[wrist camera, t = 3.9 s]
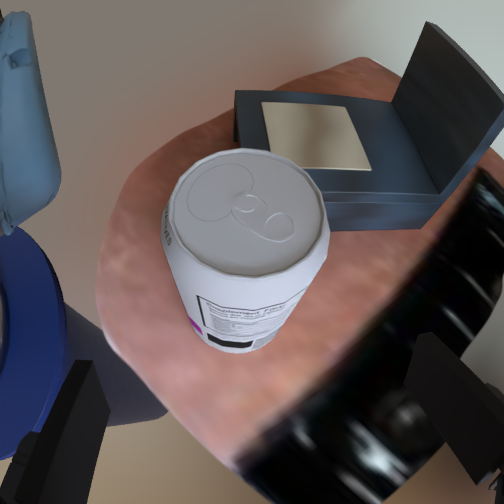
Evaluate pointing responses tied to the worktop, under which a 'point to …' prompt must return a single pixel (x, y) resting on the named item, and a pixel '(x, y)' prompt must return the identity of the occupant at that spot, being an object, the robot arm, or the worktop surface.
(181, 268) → the supplement can
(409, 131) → the chair
